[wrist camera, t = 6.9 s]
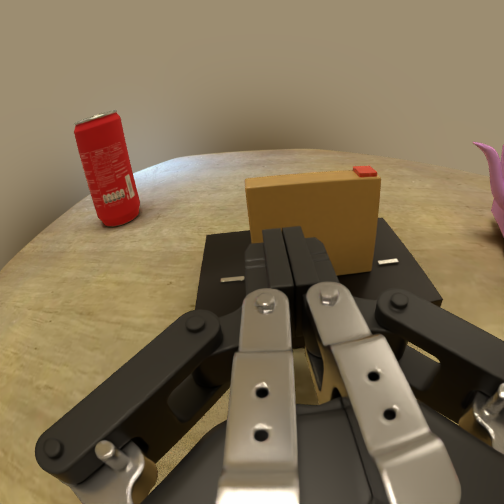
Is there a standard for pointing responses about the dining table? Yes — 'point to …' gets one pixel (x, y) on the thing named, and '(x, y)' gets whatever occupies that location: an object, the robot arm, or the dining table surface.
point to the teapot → (495, 181)
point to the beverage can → (107, 168)
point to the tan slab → (321, 211)
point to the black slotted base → (359, 284)
